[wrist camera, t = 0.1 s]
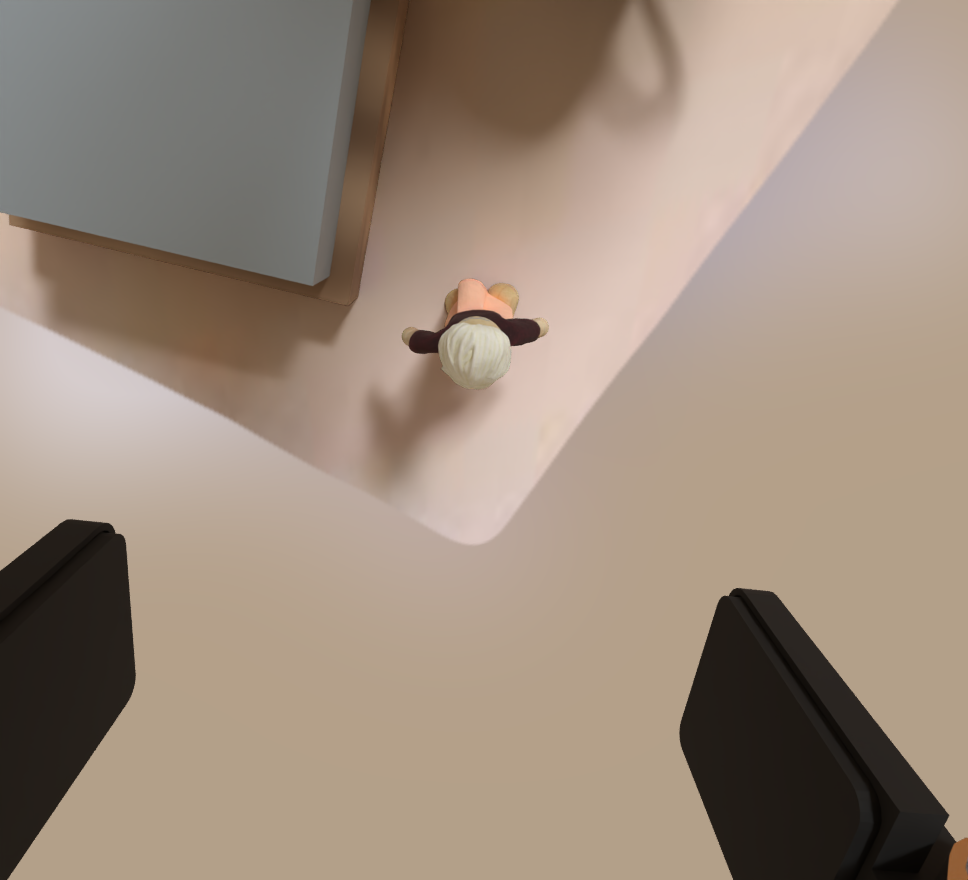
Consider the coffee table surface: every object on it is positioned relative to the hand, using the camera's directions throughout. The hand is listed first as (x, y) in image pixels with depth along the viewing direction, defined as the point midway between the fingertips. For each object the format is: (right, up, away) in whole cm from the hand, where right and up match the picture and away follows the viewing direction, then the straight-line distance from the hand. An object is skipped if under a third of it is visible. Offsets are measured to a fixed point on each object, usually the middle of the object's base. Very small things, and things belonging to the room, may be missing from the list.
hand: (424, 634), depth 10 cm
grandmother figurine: (0, +11, +29) cm, 31 cm away
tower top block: (-13, +20, +21) cm, 32 cm away
